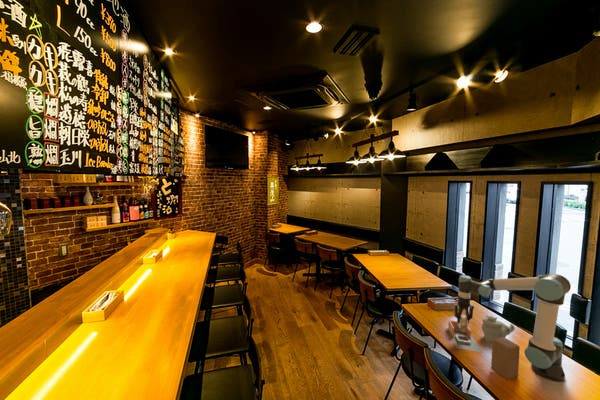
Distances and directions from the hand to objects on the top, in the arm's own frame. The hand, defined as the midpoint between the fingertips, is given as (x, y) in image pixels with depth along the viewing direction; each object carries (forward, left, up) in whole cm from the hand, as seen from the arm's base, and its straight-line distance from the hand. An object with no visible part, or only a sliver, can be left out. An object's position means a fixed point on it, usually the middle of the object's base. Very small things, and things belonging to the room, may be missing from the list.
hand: (462, 327), depth 189 cm
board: (+2, -1, -12) cm, 12 cm away
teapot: (+8, -25, -12) cm, 29 cm away
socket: (0, 0, -12) cm, 12 cm away
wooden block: (-28, -15, -12) cm, 34 cm away
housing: (+8, 0, -10) cm, 13 cm away
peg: (0, 0, -3) cm, 3 cm away
